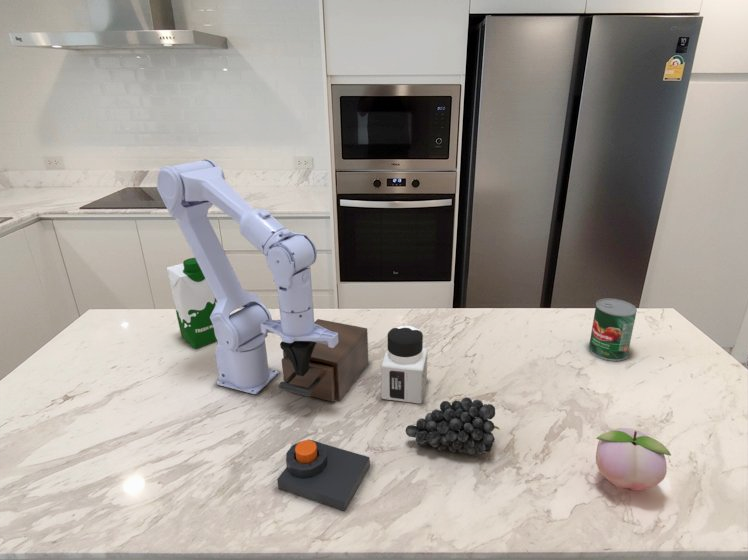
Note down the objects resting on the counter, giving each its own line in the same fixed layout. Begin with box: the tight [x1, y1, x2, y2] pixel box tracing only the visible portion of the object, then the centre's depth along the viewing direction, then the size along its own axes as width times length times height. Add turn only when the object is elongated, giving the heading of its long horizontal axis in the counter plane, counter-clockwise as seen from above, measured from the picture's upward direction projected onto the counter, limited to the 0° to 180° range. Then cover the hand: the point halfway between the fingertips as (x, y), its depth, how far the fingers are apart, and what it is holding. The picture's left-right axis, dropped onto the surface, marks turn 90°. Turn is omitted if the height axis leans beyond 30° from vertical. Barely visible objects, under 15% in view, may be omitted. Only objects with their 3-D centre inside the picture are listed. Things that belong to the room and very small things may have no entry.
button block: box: [276, 439, 371, 512], centre depth 73 cm, size 12×9×4 cm
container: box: [380, 325, 428, 404], centre depth 91 cm, size 8×8×13 cm
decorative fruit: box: [595, 427, 672, 491], centre depth 70 cm, size 9×8×10 cm
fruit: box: [405, 397, 501, 456], centre depth 78 cm, size 9×8×15 cm
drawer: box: [278, 356, 336, 402], centre depth 93 cm, size 17×10×7 cm, turn 158°
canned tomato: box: [588, 297, 638, 362], centre depth 103 cm, size 8×8×11 cm
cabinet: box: [282, 318, 369, 402], centre depth 96 cm, size 14×12×9 cm
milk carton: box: [166, 257, 218, 350], centre depth 109 cm, size 9×9×20 cm
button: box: [295, 439, 317, 464], centre depth 73 cm, size 3×3×2 cm
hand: (302, 372), depth 87 cm, fingers closed
